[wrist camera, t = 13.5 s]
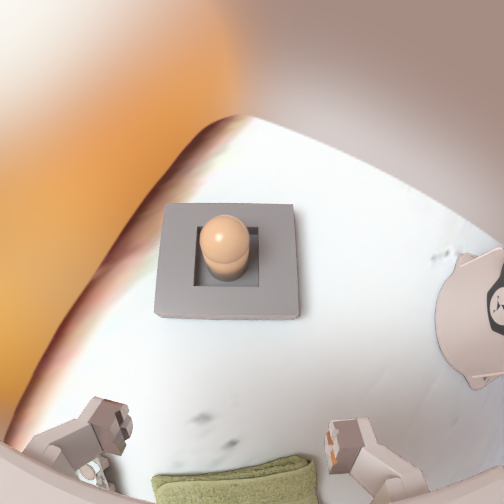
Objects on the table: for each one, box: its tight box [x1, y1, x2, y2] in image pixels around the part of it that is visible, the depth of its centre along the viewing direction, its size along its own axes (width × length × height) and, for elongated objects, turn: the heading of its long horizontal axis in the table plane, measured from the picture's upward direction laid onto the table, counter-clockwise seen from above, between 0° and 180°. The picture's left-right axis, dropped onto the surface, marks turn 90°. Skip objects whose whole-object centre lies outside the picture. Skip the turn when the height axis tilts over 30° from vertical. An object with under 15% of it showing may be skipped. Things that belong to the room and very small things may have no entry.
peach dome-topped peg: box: [200, 215, 250, 282], centre depth 28 cm, size 4×4×8 cm
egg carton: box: [79, 454, 116, 492], centre depth 21 cm, size 11×8×4 cm
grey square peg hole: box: [154, 203, 299, 320], centre depth 32 cm, size 14×12×3 cm
